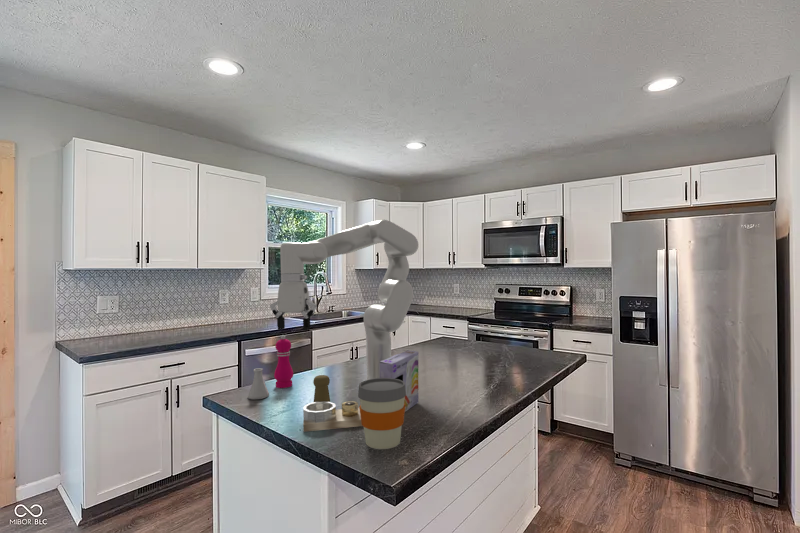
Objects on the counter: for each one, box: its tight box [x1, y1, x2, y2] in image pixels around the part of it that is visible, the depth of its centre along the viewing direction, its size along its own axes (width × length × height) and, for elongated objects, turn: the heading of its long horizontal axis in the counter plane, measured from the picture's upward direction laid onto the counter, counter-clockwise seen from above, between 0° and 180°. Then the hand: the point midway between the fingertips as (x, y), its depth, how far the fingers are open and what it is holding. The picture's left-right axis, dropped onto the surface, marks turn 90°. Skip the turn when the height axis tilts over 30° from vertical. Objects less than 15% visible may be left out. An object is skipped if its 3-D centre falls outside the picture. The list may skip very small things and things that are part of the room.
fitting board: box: [302, 407, 363, 433], centre depth 120 cm, size 18×10×2 cm, turn 102°
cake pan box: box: [380, 349, 419, 413], centre depth 128 cm, size 19×5×18 cm, turn 151°
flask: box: [247, 367, 270, 400], centre depth 145 cm, size 7×7×10 cm
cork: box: [312, 374, 331, 402], centre depth 131 cm, size 6×6×11 cm
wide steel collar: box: [302, 401, 337, 423], centre depth 119 cm, size 9×9×3 cm
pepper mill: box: [273, 334, 294, 389], centre depth 159 cm, size 7×7×20 cm
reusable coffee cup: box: [357, 378, 406, 450], centre depth 105 cm, size 13×13×15 cm
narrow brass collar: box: [341, 400, 359, 417], centre depth 121 cm, size 5×5×3 cm
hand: (293, 329), depth 136 cm, fingers open, 9 cm apart
